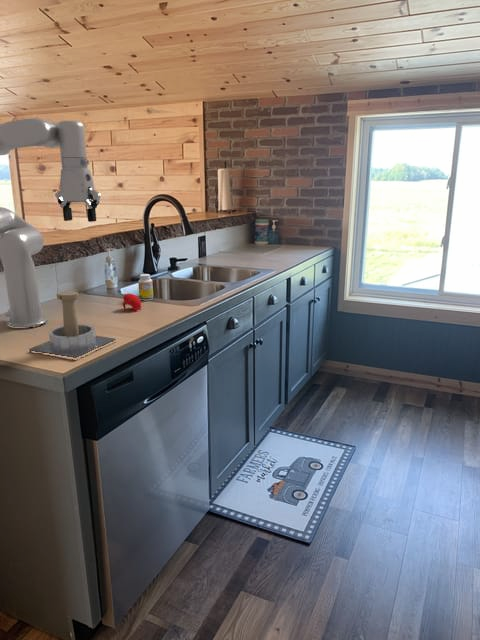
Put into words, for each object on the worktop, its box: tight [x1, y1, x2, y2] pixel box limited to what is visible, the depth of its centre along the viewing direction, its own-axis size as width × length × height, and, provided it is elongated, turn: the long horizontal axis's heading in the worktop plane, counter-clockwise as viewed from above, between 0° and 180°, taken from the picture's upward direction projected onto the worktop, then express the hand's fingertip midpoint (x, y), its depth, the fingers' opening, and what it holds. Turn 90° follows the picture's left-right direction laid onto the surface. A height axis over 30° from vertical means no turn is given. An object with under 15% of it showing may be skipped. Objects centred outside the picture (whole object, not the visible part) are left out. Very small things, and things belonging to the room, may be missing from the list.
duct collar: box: [28, 323, 117, 358], centre depth 138 cm, size 17×17×5 cm
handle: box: [56, 290, 80, 336], centre depth 137 cm, size 5×6×15 cm
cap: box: [122, 292, 142, 312], centre depth 178 cm, size 8×6×6 cm
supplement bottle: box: [137, 273, 154, 302], centre depth 192 cm, size 6×6×10 cm
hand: (80, 221), depth 151 cm, fingers open, 9 cm apart
